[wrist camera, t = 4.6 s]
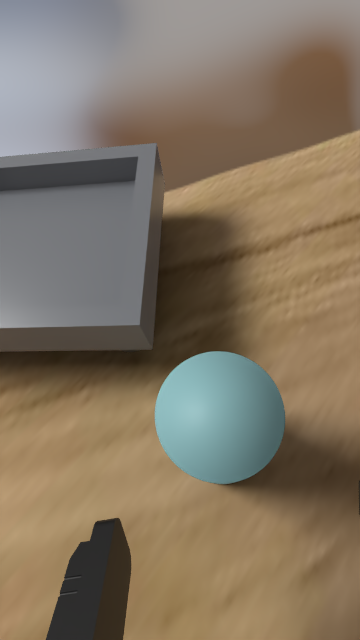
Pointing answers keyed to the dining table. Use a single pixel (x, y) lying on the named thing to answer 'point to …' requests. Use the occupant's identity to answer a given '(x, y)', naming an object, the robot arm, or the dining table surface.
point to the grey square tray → (80, 249)
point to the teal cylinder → (220, 417)
